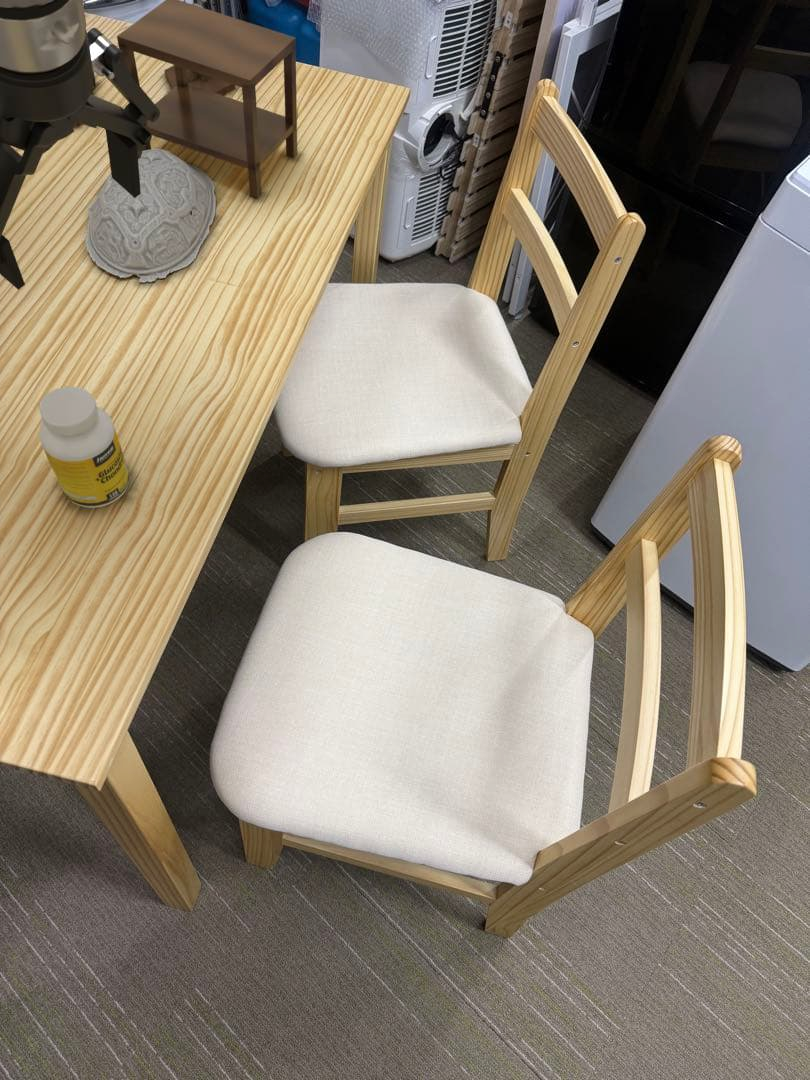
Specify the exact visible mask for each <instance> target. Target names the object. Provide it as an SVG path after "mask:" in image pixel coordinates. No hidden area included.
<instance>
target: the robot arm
mask: <svg viewBox="0 0 810 1080" xmlns="http://www.w3.org/2000/svg"><path fill="white" fill-rule="evenodd" d="M84 5H85V4H84V0H0V276H2V277H3V278H4V279H5V280H6V281H7V282H9V284H11V285H12V286H13V287H14V288H15V289H16V290H17V291H19V290H20V289H22V288H23V287H24V286H25V285H26V283H25V280H24V277H23V275H22V272H21V270H20V266H19V264H18V261H17V258H16V256H15V253H14V250H13V247H12V245H11V242H10V240H9V239H8V238H7V237H6V236H4V235H3V233H4V231H5V228H6V226H7V223H8V221H9V219H10V216H11V213H12V211H13V208H14V206H15V204H16V201H17V199H18V197H19V194H20V193H21V189H22V187H23V184H24V182H25V179H26V177H27V176H33V175H34V174H35V173H36V171H37V168H38V166H39V164H40V161H41V159H42V157H43V155H44V154H45V153H46V152H48V151H49V150H50V149H52V147H53V146H55V145H56V143H58V142H59V141H61V140H63V139H65V138H68V136H70V135H71V134H73V133H75V130H74V129H75V127H76V126H77V125H80V124H81V125H84V126H87V127H90V128H93V129H97V128H101V129H103V130H105V137H106V143H107V151H108V158H109V160H108V161H109V167H110V174H111V175H112V178H113V179H114V180H115V181H116V182H117V183H118V184H119V185H121V186H122V187H123V188H124V189H125V190H126V191H127V192H128V193H129V194H131V195H132V196H133V197H134V198H136V197H137V196H138V195H140V194H141V190H140V177H139V165H138V159H140V158H141V155H142V146H146V145H147V144H149V142H150V143H151V141H152V138H153V136H152V134H151V133H150V132H148V131H147V130H146V129H145V128H144V127H143V126H144V124H145V123H146V122H147V121H148V120H149V121H150V122H155V121H156V120H157V119H158V118H159V116H160V110H159V109H158V108H157V106H156V105H155V104H156V103H154V102H153V100H152V99H151V98H150V96H149V95H148V94H147V93H146V91H145V90H144V89H143V88H142V87H141V85H140V86H139V85H138V83H137V82H136V81H135V80H134V78H133V77H132V76H131V75H130V74H129V72H128V71H127V66H126V61H125V56H124V53H123V52H122V51H121V50H120V49H119V46H117V45H116V44H115V43H113V42H112V41H111V40H110V39H109V38H108V36H107V37H106V35H105V34H104V33H102V32H101V30H99V29H98V28H97V27H92V28H90V29H89V30H87V20H86V13H85V12H86V11H85V6H84ZM93 73H94V74H93ZM95 74H97V75H98V76H99V77H102V78H103V77H106V79H107V80H108V81H109V82H110V83H111V84H112V85H113V87H114V88H115V89H116V90H117V91H118V92H119V93H120V94H121V95H122V97H123V98H124V99H125V100H126V101H127V102H128V103H127V105H125V107H124V108H123V107H122V106H121V105H118V104H116V103H113V102H110V101H108V100H106V99H104V98H101V97H99V96H96V95H95V94H93V92H92V88H93V82H94V77H95ZM93 89H94V88H93ZM91 92H92V94H91ZM16 149H19V150H21V151H23V153H22V155H21V154H20V152H18V151H17V150H16Z"/></svg>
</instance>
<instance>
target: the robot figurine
mask: <svg viewBox="0 0 810 1080" xmlns="http://www.w3.org/2000/svg"><path fill="white" fill-rule="evenodd" d="M182 1H183V2H186V0H182ZM206 2H207V0H199V1H198V3H191V4H192V5H195V6H199V7H202V8H204V6H203V4H204V3H206ZM163 70H164V77H165V79H166V82H167V83H168V85H169V87H170V90H172V89H173V88H174V87H175V86H177V83H176V75H175V68H174V65H172V66H170V67H168V68H165V69H163ZM187 77H188V84H190V85H193V86H196V87H199V88H202V89H205V90H208V91H211V92H214V93H217V94H220V95H223V96H225V95H226V94H228V93H230V92H231V91H234V90H235V89H236V85H233V84H230V83H227V82H224V81H221V80H218V79H215V78H212V77H209V76H206V75H203V74H200V73H197V72H194V71H191V70H188V69H187Z"/></svg>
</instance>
